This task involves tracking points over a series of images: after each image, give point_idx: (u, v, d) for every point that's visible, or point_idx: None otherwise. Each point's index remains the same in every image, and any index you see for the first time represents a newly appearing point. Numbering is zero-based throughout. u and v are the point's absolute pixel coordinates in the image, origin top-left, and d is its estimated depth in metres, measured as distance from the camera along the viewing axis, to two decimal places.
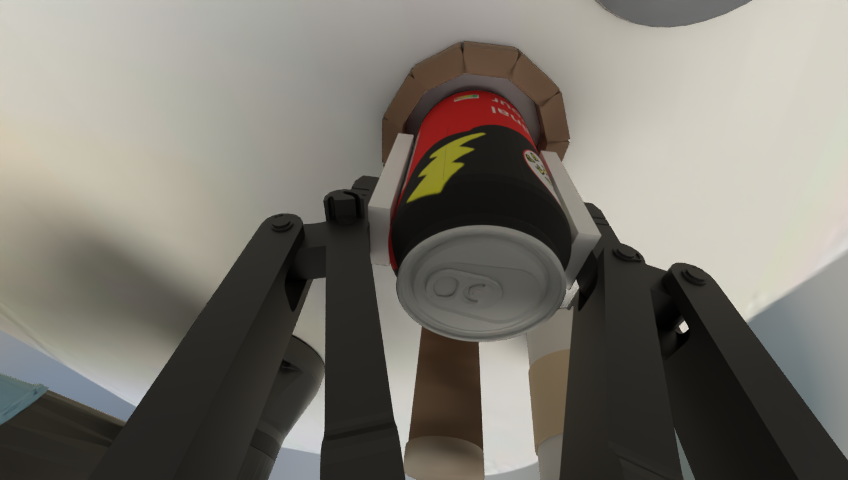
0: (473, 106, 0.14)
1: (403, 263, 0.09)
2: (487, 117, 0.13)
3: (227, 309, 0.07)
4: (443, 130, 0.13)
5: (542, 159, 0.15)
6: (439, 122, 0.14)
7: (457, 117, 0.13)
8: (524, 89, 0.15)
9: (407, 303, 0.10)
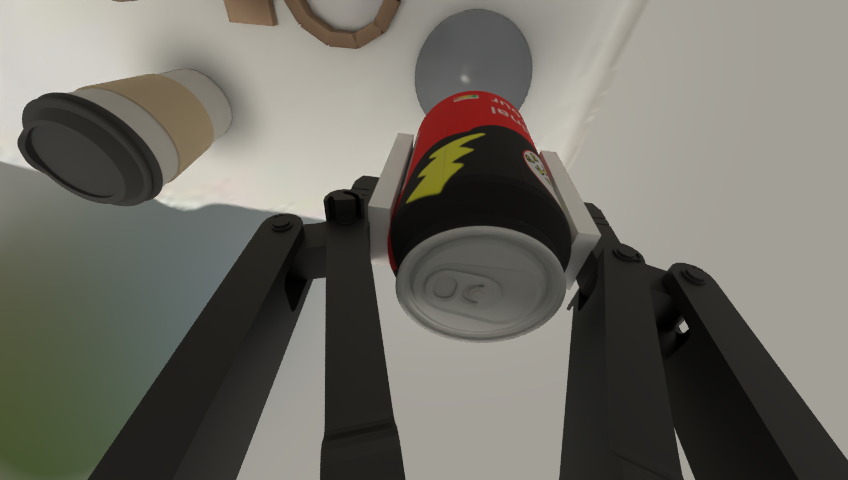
0: (473, 106, 0.14)
1: (402, 264, 0.09)
2: (487, 117, 0.13)
3: (227, 309, 0.07)
4: (443, 130, 0.13)
5: (542, 159, 0.15)
6: (439, 122, 0.14)
7: (457, 118, 0.13)
8: (381, 8, 0.26)
9: (406, 304, 0.10)
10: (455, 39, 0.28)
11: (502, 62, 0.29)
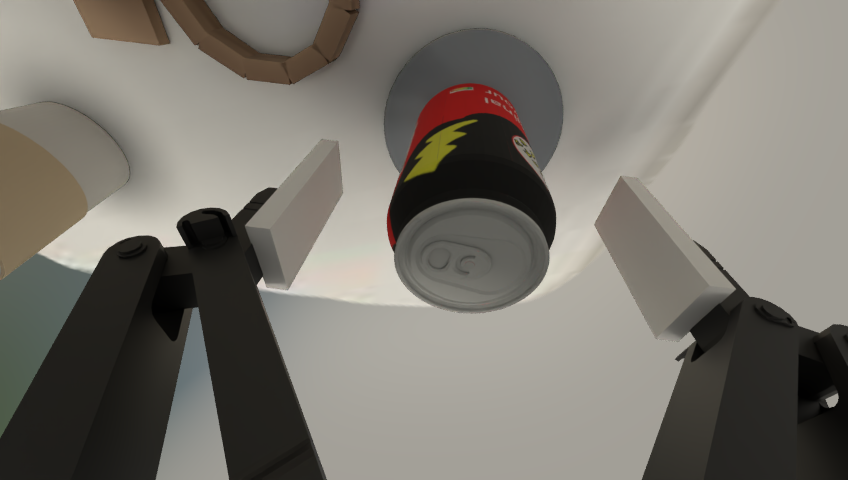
0: (468, 97, 0.15)
1: (400, 235, 0.10)
2: (480, 106, 0.14)
3: (76, 358, 0.06)
4: (438, 118, 0.14)
5: (624, 186, 0.13)
6: (435, 112, 0.15)
7: (452, 107, 0.14)
8: (323, 24, 0.16)
9: (404, 275, 0.11)
10: (445, 74, 0.18)
11: (518, 110, 0.19)
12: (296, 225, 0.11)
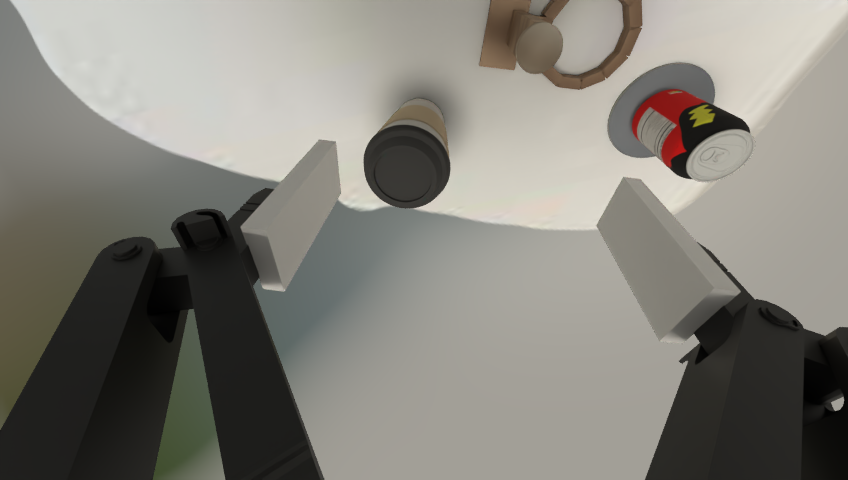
0: (686, 95, 0.33)
1: (700, 144, 0.28)
2: (699, 99, 0.32)
3: (70, 361, 0.06)
4: (683, 104, 0.32)
5: (626, 187, 0.13)
6: (673, 102, 0.33)
7: (685, 100, 0.32)
8: (612, 61, 0.34)
9: (688, 164, 0.29)
10: (657, 84, 0.36)
11: None
12: (293, 226, 0.11)
